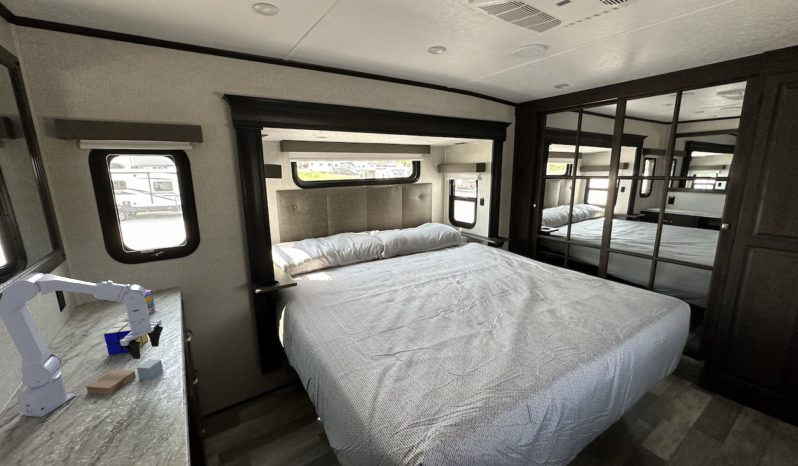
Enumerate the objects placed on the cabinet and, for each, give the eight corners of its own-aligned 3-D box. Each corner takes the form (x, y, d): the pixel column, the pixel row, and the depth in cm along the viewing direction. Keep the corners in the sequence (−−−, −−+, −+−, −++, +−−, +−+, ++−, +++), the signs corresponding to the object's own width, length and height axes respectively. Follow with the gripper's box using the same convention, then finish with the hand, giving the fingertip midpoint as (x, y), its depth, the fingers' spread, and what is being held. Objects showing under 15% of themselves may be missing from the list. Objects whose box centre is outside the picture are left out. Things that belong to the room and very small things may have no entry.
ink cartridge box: (137, 319, 158) (131, 293, 155) (129, 317, 160) (124, 292, 157) (156, 310, 167) (151, 286, 164) (149, 309, 169) (144, 285, 166)
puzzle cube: (108, 355, 127) (103, 334, 125) (122, 342, 137) (117, 322, 134) (136, 351, 130) (132, 330, 128) (148, 339, 139) (144, 319, 137)
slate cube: (151, 380, 112) (149, 368, 111) (139, 379, 112) (136, 367, 111) (163, 371, 117) (161, 359, 116) (151, 370, 117) (149, 359, 116)
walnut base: (111, 395, 105) (109, 388, 104) (88, 393, 106) (86, 386, 105) (135, 378, 114) (134, 371, 113) (114, 376, 115) (112, 369, 114)
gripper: (130, 329, 103) (138, 365, 105) (166, 309, 117) (172, 341, 120) (111, 328, 103) (119, 364, 106) (149, 309, 117) (155, 341, 120)
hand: (146, 352), depth 113 cm, fingers open, 7 cm apart
